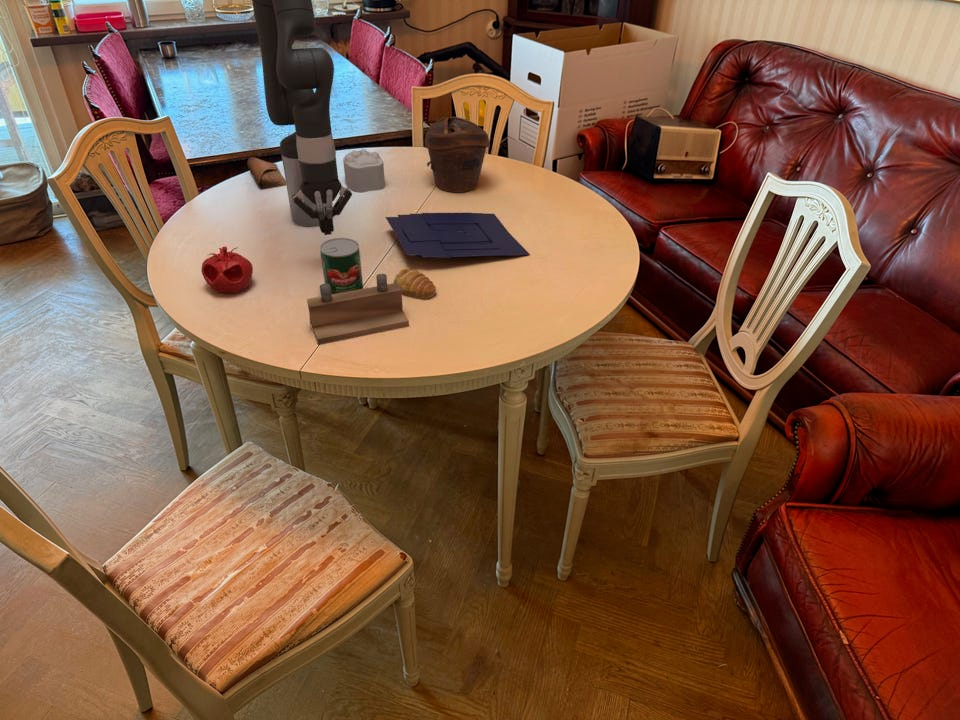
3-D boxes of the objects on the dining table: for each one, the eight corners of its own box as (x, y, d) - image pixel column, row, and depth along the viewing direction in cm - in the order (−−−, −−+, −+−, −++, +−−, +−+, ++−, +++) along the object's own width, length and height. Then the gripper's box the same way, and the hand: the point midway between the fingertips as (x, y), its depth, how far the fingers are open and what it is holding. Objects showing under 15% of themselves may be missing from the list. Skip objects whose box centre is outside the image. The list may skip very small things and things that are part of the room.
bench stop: (310, 322, 123) (303, 282, 118) (397, 305, 129) (395, 267, 124) (318, 344, 118) (311, 304, 112) (409, 325, 123) (407, 286, 118)
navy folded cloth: (382, 224, 156) (383, 210, 154) (491, 222, 167) (494, 209, 165) (408, 270, 138) (409, 255, 136) (528, 265, 149) (531, 251, 147)
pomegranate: (216, 273, 137) (206, 234, 131) (262, 275, 137) (253, 236, 131) (199, 297, 129) (187, 257, 124) (247, 299, 129) (237, 259, 124)
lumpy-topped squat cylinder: (353, 194, 173) (350, 163, 168) (340, 177, 182) (337, 147, 177) (388, 188, 177) (386, 158, 172) (374, 172, 186) (372, 143, 181)
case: (447, 166, 191) (447, 106, 180) (501, 183, 183) (504, 121, 172) (409, 184, 180) (407, 120, 169) (464, 202, 171) (466, 137, 160)
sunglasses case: (290, 185, 176) (274, 167, 171) (271, 200, 176) (254, 182, 171) (275, 163, 189) (261, 146, 184) (257, 178, 189) (242, 161, 184)
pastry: (443, 291, 134) (443, 276, 132) (423, 305, 130) (422, 289, 128) (410, 277, 139) (409, 262, 136) (389, 290, 134) (388, 275, 132)
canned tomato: (350, 279, 137) (345, 233, 130) (371, 293, 132) (367, 247, 126) (318, 291, 132) (312, 245, 126) (339, 306, 128) (333, 259, 121)
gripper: (344, 146, 132) (352, 222, 142) (281, 153, 128) (294, 231, 138) (353, 158, 127) (360, 236, 137) (287, 165, 122) (300, 245, 133)
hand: (327, 233), depth 138 cm, fingers closed
